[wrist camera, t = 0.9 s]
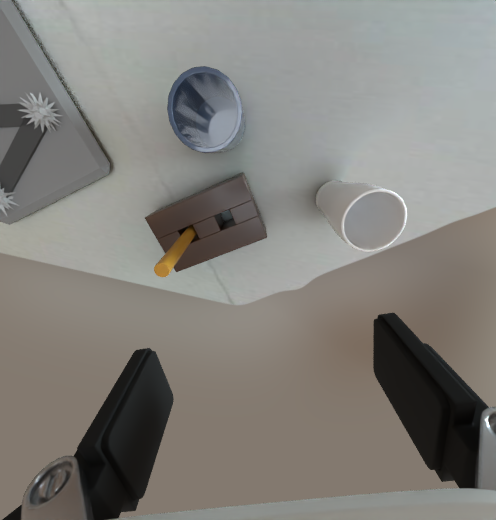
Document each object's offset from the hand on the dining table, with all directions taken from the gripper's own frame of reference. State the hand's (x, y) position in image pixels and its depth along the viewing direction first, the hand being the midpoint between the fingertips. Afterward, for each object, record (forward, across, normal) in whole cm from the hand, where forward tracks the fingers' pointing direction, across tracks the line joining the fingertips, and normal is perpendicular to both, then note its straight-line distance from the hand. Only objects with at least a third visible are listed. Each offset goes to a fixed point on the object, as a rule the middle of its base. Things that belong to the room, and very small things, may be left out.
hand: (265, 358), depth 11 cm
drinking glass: (+32, -12, 0) cm, 35 cm away
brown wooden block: (+32, +7, 0) cm, 33 cm away
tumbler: (+32, +3, -13) cm, 35 cm away
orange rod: (+32, +10, +1) cm, 34 cm away
